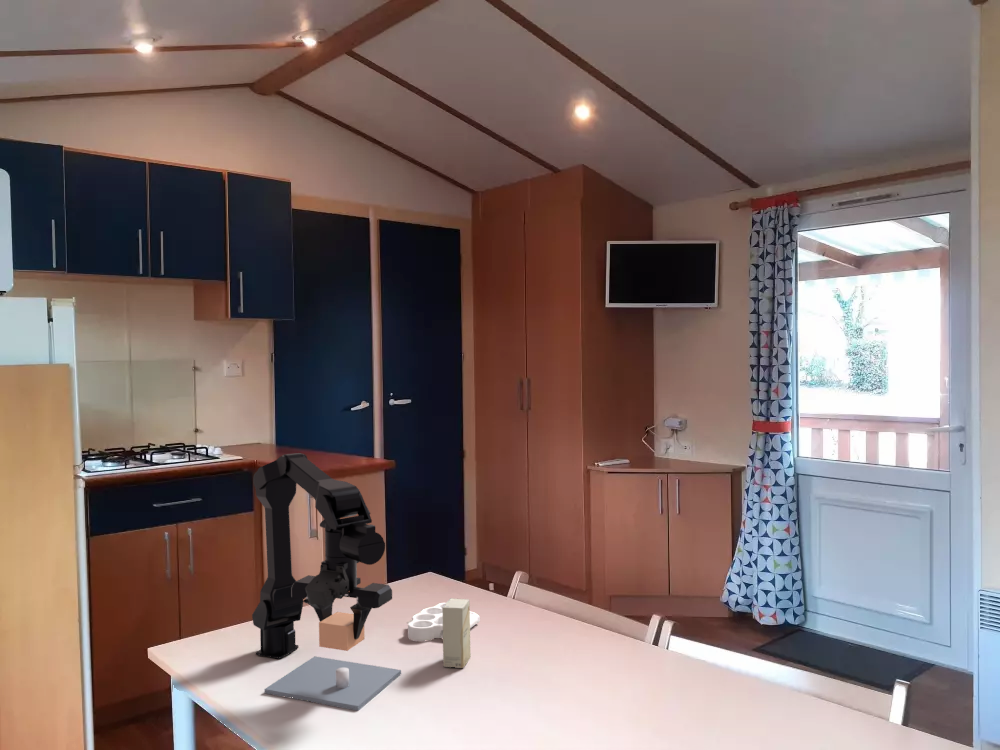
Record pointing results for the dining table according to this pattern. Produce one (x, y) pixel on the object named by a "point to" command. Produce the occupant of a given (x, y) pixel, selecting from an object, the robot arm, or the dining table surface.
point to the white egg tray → (431, 623)
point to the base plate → (334, 682)
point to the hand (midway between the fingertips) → (341, 636)
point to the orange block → (338, 632)
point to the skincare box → (456, 633)
